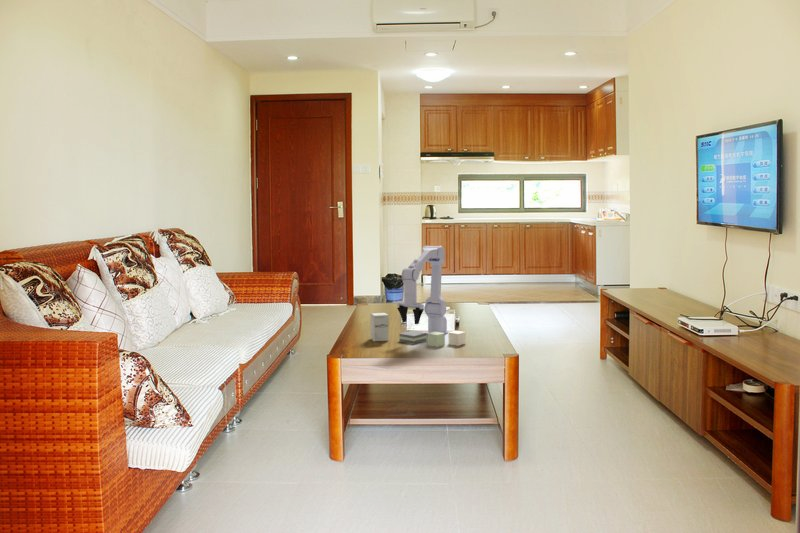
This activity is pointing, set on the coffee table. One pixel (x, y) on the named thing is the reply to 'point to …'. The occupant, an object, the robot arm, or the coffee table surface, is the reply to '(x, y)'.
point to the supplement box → (379, 326)
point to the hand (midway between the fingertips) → (410, 322)
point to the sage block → (436, 339)
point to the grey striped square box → (412, 337)
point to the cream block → (456, 338)
